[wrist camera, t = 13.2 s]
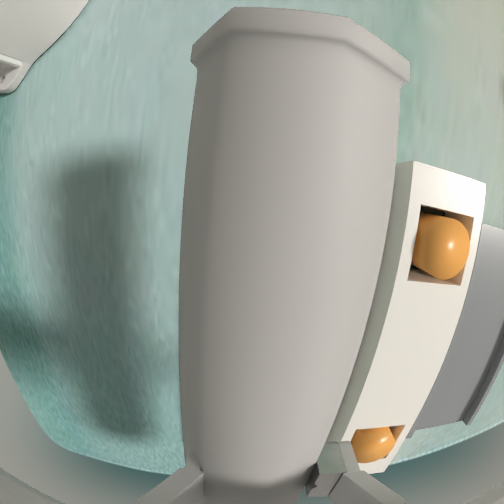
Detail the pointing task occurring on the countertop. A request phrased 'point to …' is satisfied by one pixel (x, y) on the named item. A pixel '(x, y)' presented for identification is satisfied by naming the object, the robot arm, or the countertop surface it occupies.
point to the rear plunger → (372, 444)
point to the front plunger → (440, 246)
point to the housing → (409, 311)
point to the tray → (472, 342)
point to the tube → (280, 239)
